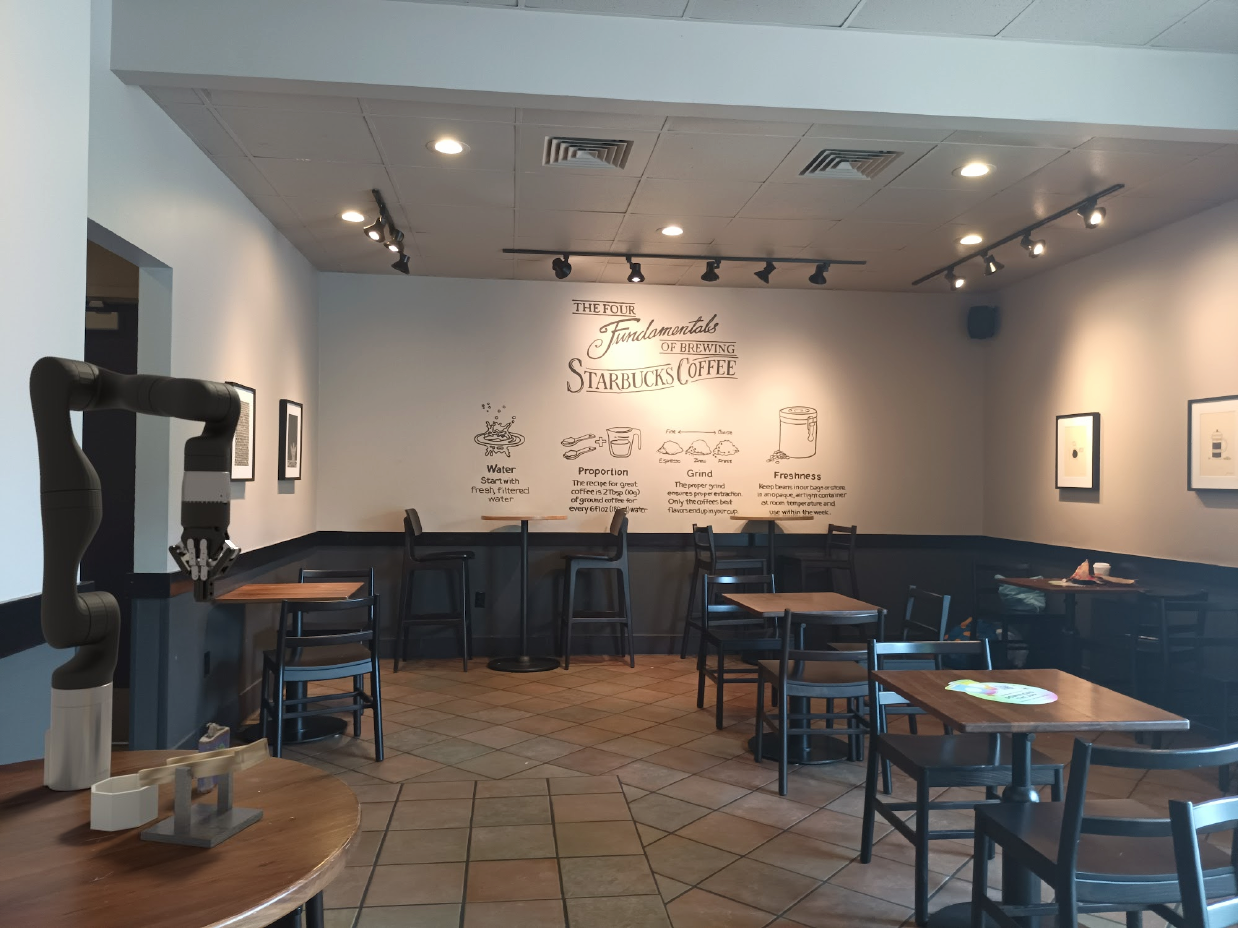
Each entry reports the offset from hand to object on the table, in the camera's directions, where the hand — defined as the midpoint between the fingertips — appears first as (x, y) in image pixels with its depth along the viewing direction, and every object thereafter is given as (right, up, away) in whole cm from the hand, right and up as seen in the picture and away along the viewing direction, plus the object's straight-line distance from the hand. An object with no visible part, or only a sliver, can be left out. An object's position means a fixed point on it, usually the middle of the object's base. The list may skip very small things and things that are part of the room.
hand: (203, 601), depth 145 cm
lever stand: (+6, -33, -13) cm, 36 cm away
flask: (-2, -33, +7) cm, 34 cm away
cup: (-8, -33, -9) cm, 35 cm away
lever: (+7, -24, -9) cm, 27 cm away
